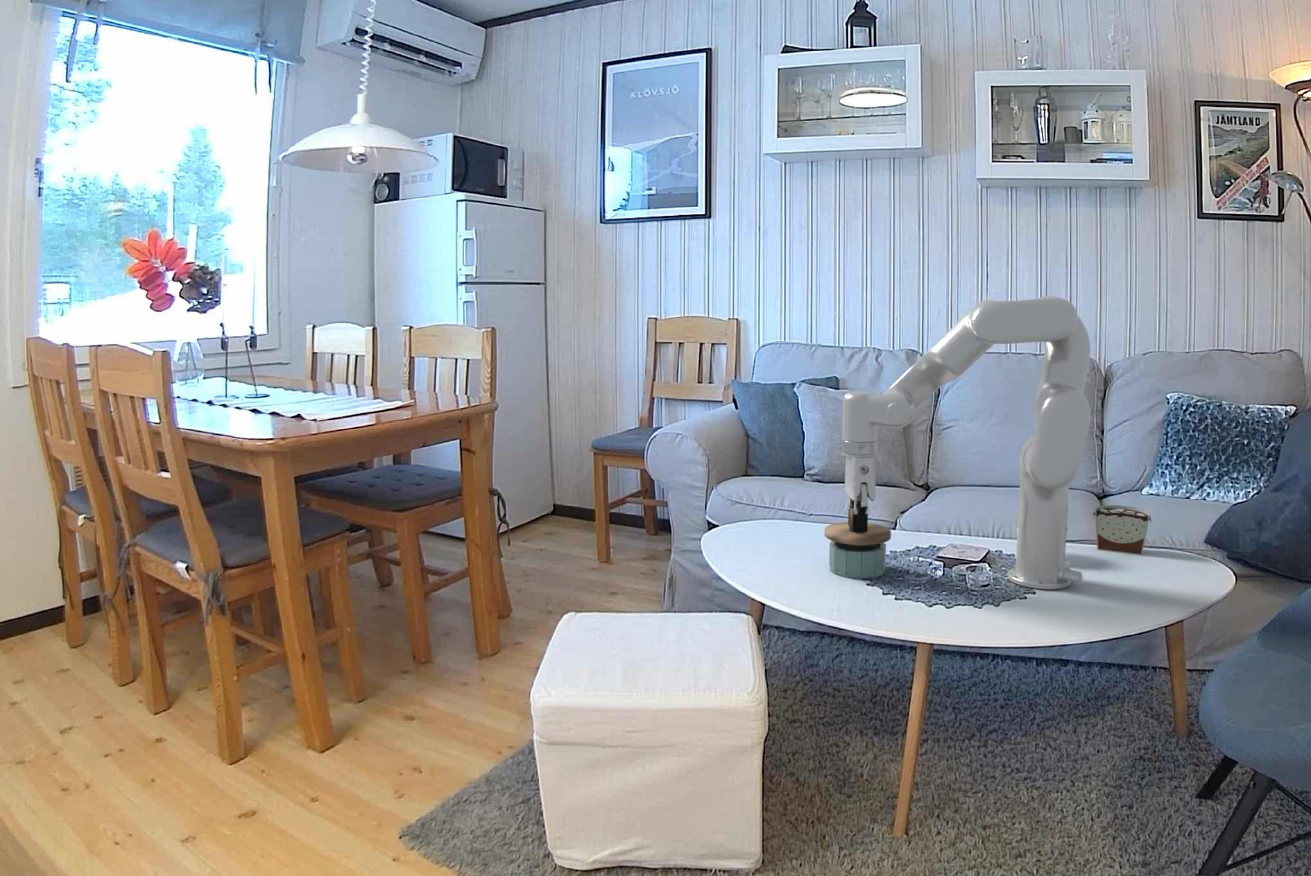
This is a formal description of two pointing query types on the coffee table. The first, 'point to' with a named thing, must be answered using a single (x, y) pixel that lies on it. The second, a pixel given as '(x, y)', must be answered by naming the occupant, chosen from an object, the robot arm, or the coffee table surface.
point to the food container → (1121, 528)
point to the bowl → (857, 560)
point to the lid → (857, 533)
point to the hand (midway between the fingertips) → (857, 528)
